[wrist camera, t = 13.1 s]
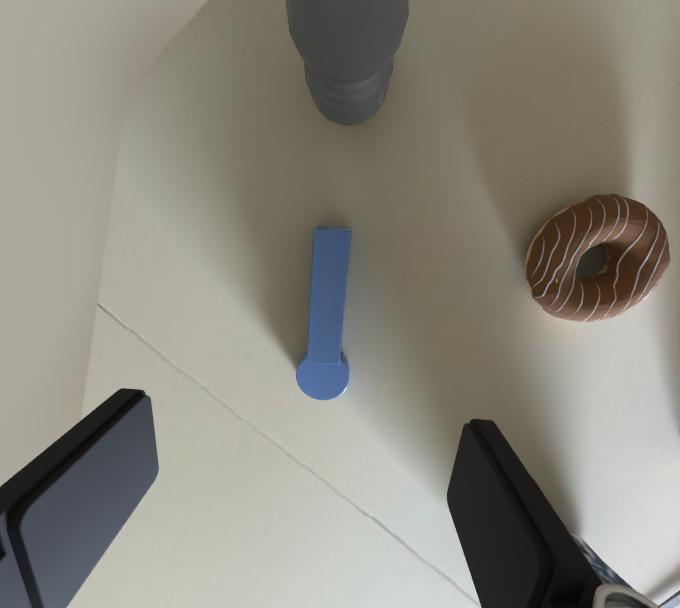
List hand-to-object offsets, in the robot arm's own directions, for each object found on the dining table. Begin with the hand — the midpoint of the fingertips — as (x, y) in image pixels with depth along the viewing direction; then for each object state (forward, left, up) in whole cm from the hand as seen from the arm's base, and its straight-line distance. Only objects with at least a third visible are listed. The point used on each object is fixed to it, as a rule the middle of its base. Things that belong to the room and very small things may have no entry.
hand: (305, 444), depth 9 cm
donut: (+21, +4, -22) cm, 31 cm away
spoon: (-1, -3, -21) cm, 22 cm away
